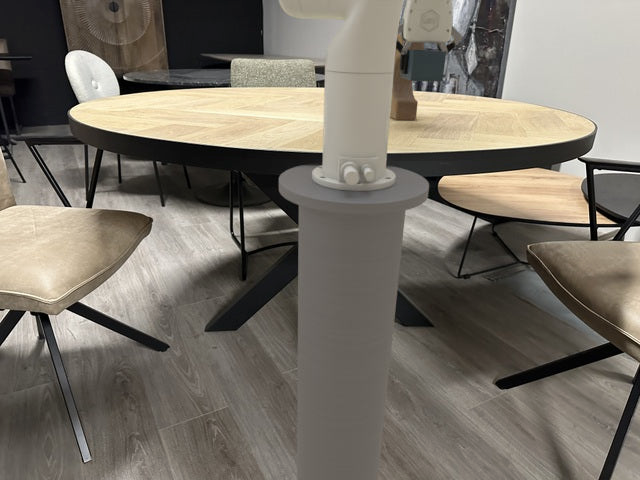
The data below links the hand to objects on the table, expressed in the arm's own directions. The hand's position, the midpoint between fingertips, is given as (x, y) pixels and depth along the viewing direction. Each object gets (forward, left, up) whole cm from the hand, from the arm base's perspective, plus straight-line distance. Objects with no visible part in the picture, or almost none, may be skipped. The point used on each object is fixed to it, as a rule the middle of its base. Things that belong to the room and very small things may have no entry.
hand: (421, 73), depth 106 cm
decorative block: (+15, +1, -12) cm, 19 cm away
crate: (0, 0, -1) cm, 1 cm away
